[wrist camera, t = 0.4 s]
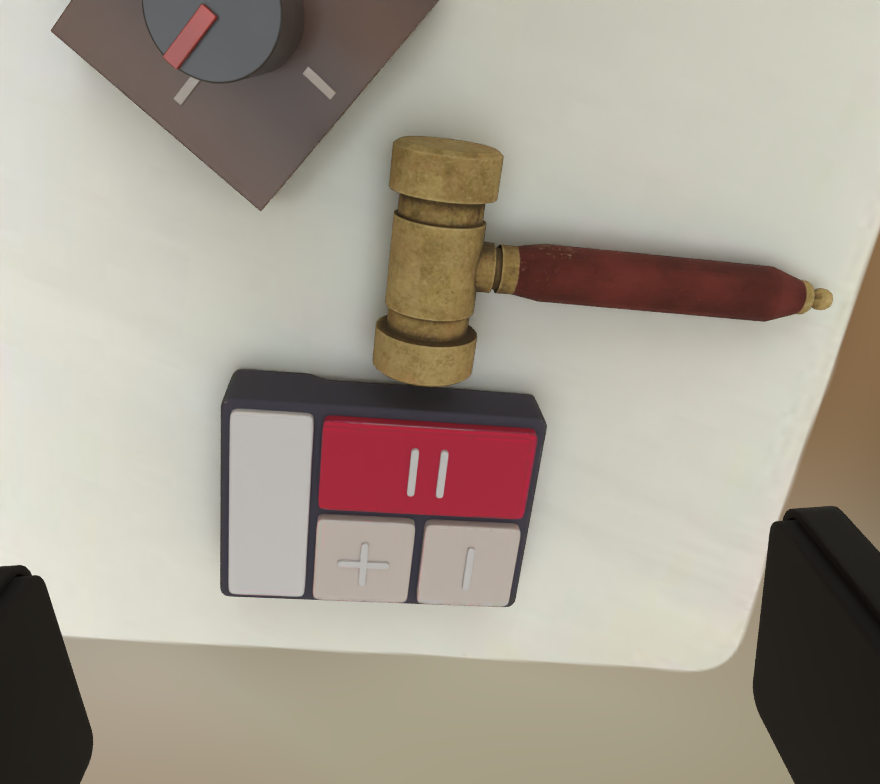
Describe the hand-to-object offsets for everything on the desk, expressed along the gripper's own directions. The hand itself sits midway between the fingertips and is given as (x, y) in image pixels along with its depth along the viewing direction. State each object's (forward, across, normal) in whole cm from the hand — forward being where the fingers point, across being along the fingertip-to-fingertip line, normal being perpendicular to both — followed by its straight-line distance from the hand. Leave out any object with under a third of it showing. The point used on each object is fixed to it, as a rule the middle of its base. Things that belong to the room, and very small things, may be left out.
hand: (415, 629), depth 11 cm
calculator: (+29, +3, +14) cm, 32 cm away
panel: (+28, +6, -8) cm, 30 cm away
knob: (+25, +6, -8) cm, 27 cm away
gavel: (+29, -9, +3) cm, 30 cm away
